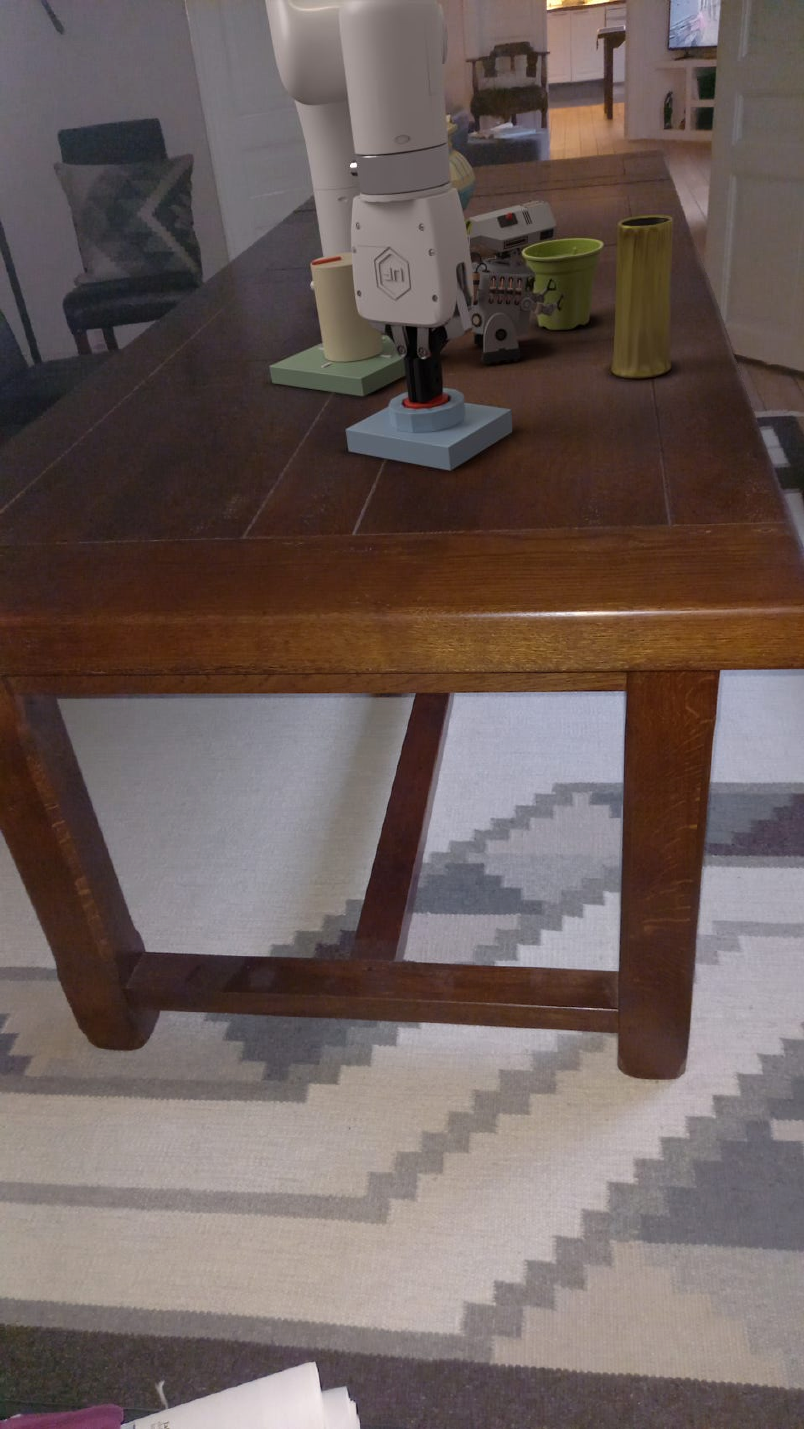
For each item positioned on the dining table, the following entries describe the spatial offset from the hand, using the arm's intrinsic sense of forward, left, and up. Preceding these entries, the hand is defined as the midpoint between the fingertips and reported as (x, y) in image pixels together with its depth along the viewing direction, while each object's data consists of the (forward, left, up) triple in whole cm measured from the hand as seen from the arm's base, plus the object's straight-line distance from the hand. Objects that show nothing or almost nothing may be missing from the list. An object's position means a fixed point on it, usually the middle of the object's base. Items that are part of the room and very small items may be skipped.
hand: (426, 398), depth 90 cm
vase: (+9, +25, -4) cm, 27 cm away
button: (0, 0, -2) cm, 2 cm away
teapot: (-45, +63, -5) cm, 78 cm away
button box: (0, 0, -4) cm, 4 cm away
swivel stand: (-22, +15, -4) cm, 27 cm away
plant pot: (-8, +38, -4) cm, 39 cm away
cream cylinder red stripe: (-22, +15, -2) cm, 27 cm away
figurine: (-8, +27, -4) cm, 29 cm away
